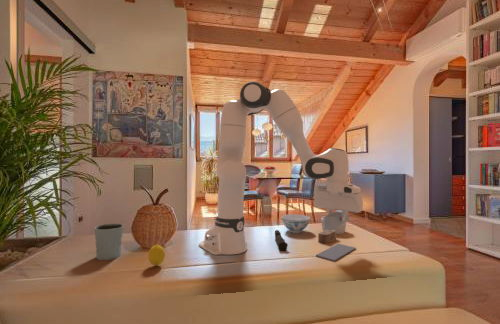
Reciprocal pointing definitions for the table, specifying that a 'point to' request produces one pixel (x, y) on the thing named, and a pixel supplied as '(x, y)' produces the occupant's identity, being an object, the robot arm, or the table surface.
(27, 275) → the table surface
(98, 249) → the blue-grey cup
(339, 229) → the ramekin
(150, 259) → the lemon
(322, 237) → the walnut block
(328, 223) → the bar
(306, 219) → the chinaware
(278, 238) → the hand tool
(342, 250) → the tool mat
